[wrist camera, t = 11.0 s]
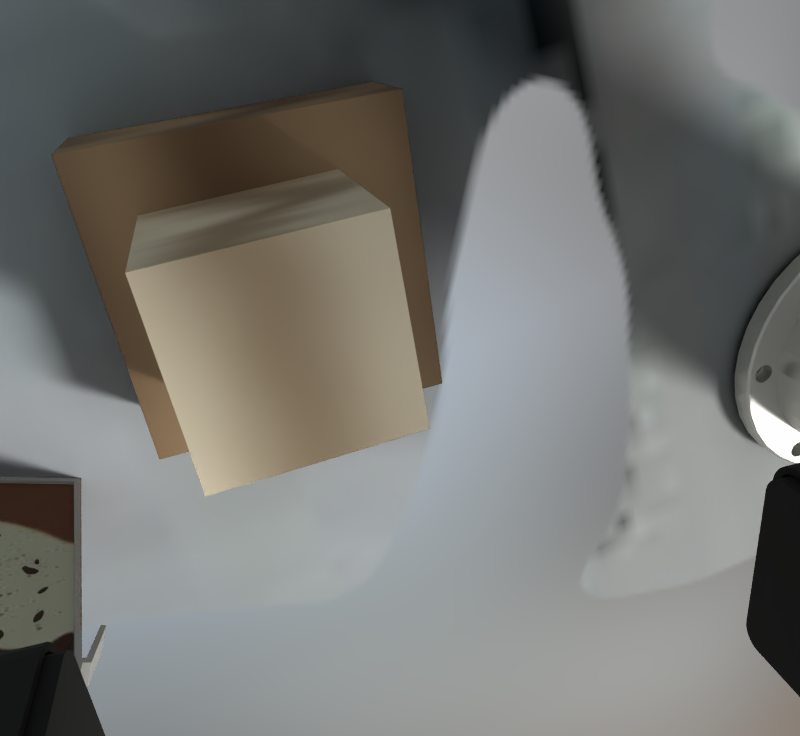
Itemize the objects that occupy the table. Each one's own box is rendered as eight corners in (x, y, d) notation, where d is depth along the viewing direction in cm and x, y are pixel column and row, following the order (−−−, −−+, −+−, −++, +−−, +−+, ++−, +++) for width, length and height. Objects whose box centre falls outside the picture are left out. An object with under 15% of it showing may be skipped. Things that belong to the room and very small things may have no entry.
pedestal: (370, 81, 25) (402, 88, 22) (410, 341, 30) (442, 383, 26) (69, 136, 23) (51, 155, 20) (161, 405, 28) (159, 459, 24)
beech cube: (338, 168, 22) (389, 207, 17) (375, 346, 25) (429, 428, 19) (137, 215, 21) (125, 272, 16) (198, 395, 24) (205, 496, 18)
